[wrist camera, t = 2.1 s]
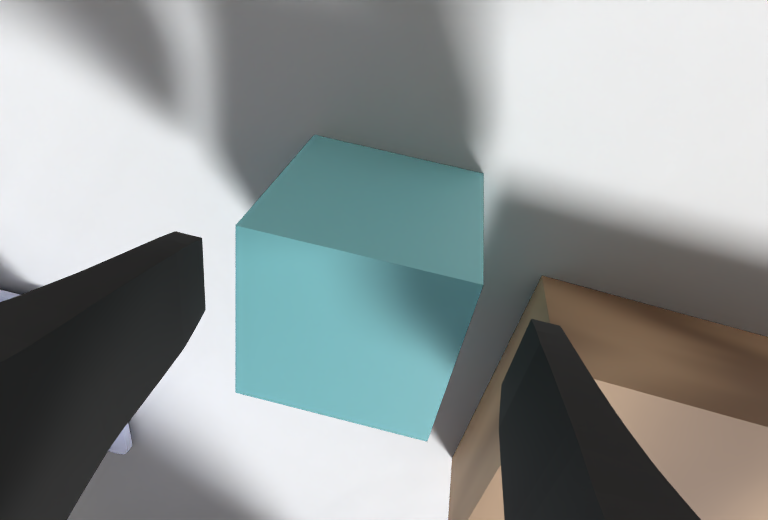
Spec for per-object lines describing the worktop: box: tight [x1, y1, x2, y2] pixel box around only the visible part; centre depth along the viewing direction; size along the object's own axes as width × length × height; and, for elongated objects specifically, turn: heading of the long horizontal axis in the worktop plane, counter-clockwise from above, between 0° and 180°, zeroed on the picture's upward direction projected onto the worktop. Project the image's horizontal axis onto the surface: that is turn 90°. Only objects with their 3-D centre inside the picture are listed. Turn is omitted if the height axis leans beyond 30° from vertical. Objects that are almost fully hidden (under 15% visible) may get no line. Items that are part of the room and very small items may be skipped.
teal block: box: [236, 135, 484, 441], centre depth 12 cm, size 4×4×5 cm
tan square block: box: [448, 276, 768, 520], centre depth 15 cm, size 9×9×4 cm
